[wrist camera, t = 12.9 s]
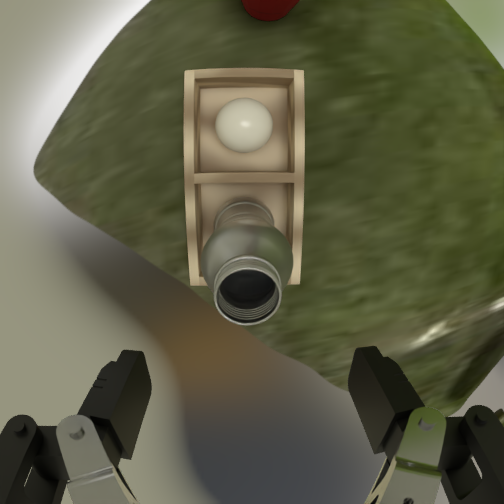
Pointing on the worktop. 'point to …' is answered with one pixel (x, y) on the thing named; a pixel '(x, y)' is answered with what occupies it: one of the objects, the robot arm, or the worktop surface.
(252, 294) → the plastic bottle
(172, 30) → the worktop surface
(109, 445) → the robot arm
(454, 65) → the worktop surface
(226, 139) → the white ball
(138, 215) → the worktop surface
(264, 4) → the plastic cup
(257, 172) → the crate
